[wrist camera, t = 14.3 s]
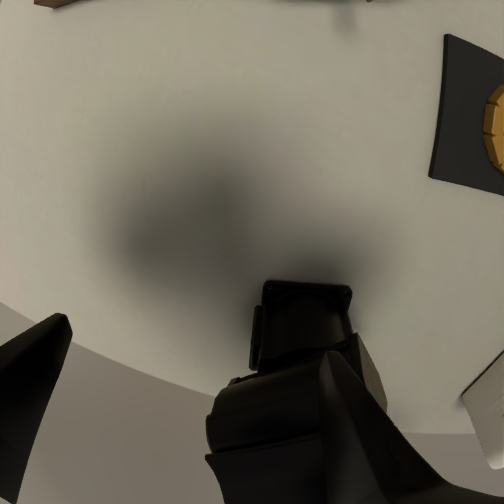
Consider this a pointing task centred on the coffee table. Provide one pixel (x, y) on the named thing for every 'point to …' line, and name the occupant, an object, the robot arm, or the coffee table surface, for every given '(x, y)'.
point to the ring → (495, 128)
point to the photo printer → (489, 412)
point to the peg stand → (52, 3)
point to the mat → (466, 116)
